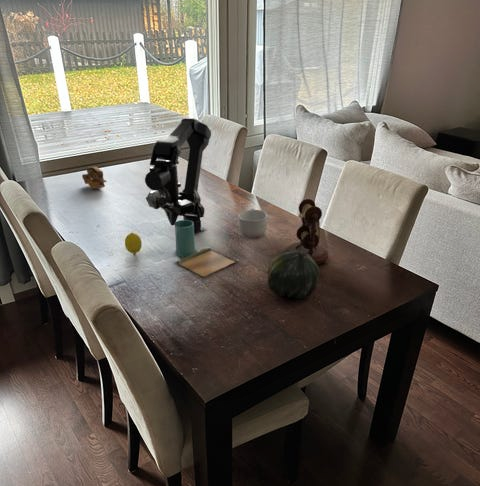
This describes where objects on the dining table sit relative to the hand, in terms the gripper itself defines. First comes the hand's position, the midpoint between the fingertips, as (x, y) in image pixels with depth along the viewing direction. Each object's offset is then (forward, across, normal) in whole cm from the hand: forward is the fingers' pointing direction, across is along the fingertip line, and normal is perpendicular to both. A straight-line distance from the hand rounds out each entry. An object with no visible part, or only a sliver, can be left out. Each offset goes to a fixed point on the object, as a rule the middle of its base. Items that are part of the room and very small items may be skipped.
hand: (172, 225), depth 150 cm
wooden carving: (+9, -77, +12) cm, 78 cm away
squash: (+9, +48, +6) cm, 49 cm away
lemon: (+9, -6, -13) cm, 17 cm away
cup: (+8, +6, 0) cm, 11 cm away
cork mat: (+8, +17, 0) cm, 19 cm away
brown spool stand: (+9, +38, +26) cm, 47 cm away
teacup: (+9, +11, +29) cm, 32 cm away
